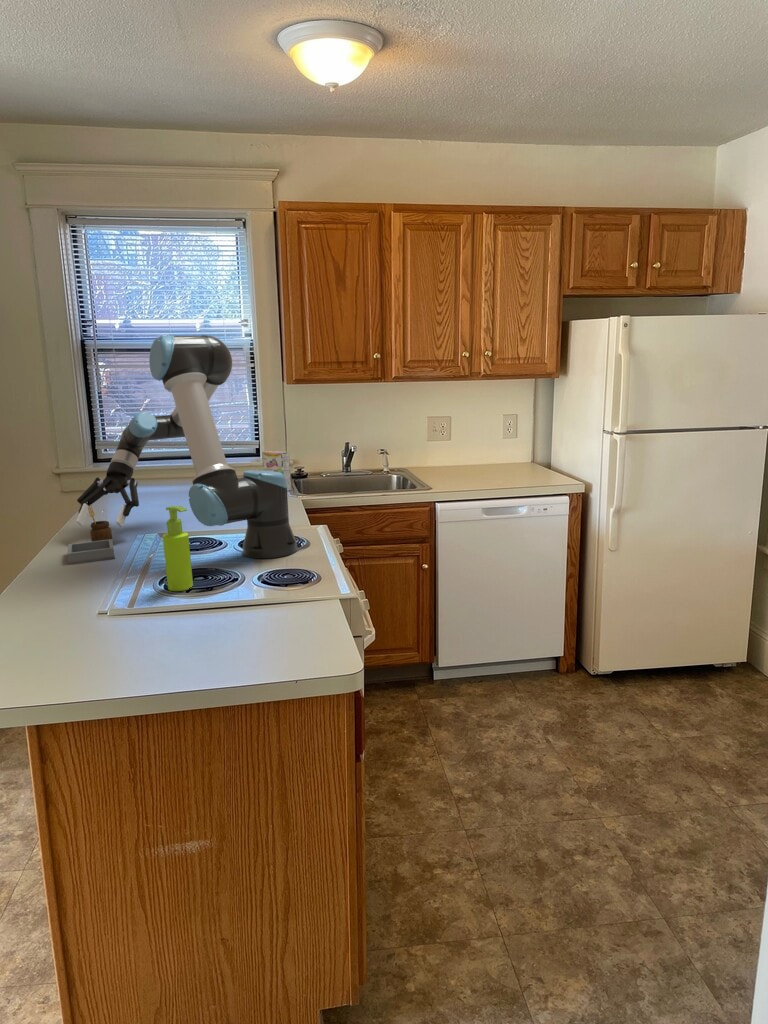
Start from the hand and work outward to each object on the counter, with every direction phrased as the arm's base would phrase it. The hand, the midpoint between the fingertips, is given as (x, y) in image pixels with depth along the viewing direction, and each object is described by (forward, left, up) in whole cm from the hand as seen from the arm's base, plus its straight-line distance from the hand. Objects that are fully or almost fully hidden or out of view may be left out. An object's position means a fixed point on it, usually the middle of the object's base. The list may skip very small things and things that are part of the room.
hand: (99, 524), depth 215 cm
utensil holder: (-1, 0, -7) cm, 7 cm away
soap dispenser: (-57, -17, -7) cm, 60 cm away
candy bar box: (+61, -71, -7) cm, 93 cm away
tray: (-14, +3, -6) cm, 15 cm away
